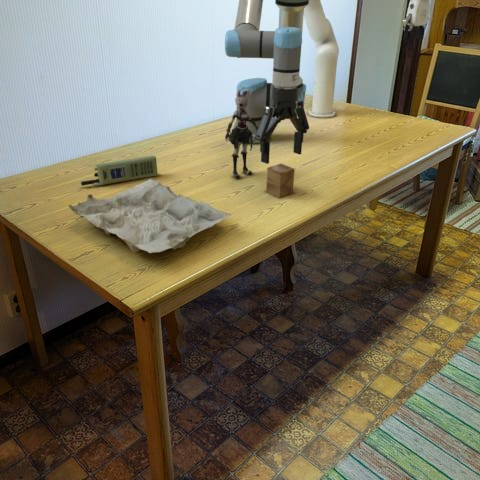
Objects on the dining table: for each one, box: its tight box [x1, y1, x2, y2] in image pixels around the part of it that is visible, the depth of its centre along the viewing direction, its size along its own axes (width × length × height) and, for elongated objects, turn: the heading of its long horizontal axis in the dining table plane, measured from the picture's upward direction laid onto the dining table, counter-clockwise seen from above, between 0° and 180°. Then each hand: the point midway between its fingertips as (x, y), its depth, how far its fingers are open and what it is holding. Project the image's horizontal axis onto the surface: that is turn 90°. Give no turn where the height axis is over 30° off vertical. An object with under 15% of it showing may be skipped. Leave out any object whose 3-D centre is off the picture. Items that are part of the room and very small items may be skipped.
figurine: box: [224, 86, 258, 179], centre depth 165 cm, size 15×6×30 cm, turn 132°
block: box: [265, 163, 295, 199], centre depth 158 cm, size 6×6×8 cm
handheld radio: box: [80, 155, 159, 187], centre depth 164 cm, size 7×3×25 cm
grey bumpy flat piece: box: [68, 178, 232, 254], centre depth 138 cm, size 38×6×30 cm
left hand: (281, 157), depth 154 cm, fingers open, 13 cm apart
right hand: (412, 39), depth 216 cm, fingers open, 9 cm apart
